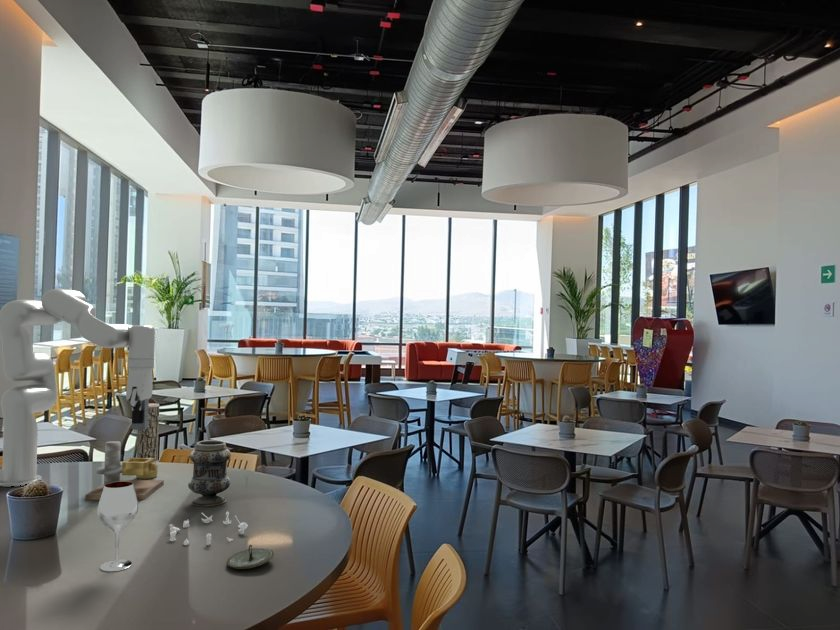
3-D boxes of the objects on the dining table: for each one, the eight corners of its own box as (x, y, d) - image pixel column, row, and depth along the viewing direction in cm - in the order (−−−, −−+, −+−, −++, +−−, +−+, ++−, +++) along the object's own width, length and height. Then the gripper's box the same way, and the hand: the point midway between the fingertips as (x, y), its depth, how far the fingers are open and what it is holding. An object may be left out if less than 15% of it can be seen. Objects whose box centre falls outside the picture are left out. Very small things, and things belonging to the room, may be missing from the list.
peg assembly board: (83, 499, 190) (85, 448, 190) (109, 484, 208) (110, 437, 208) (144, 500, 191) (145, 448, 191) (164, 484, 209) (165, 437, 209)
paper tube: (135, 475, 220) (137, 403, 220) (156, 474, 223) (158, 403, 223) (136, 480, 214) (138, 406, 214) (157, 478, 217) (159, 405, 217)
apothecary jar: (236, 497, 196) (237, 439, 196) (220, 509, 184) (221, 446, 184) (198, 495, 197) (200, 437, 197) (180, 506, 185) (181, 445, 185)
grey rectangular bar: (131, 429, 198) (132, 394, 198) (135, 427, 201) (135, 393, 202) (144, 429, 199) (145, 394, 199) (148, 427, 202) (148, 393, 202)
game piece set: (261, 527, 170) (261, 512, 170) (218, 552, 151) (218, 536, 151) (198, 519, 175) (198, 505, 175) (149, 543, 156) (149, 527, 156)
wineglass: (125, 556, 146) (128, 478, 146) (143, 565, 141) (145, 484, 141) (89, 566, 140) (91, 484, 140) (106, 576, 134) (108, 491, 135)
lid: (279, 573, 142) (284, 550, 143) (241, 573, 135) (246, 549, 137) (255, 562, 150) (259, 540, 151) (217, 561, 143) (222, 538, 144)
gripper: (138, 362, 208) (137, 418, 208) (118, 365, 192) (116, 426, 192) (162, 362, 209) (160, 418, 209) (143, 366, 192) (142, 426, 192)
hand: (139, 421), depth 200 cm, fingers closed on grey rectangular bar, 3 cm apart
